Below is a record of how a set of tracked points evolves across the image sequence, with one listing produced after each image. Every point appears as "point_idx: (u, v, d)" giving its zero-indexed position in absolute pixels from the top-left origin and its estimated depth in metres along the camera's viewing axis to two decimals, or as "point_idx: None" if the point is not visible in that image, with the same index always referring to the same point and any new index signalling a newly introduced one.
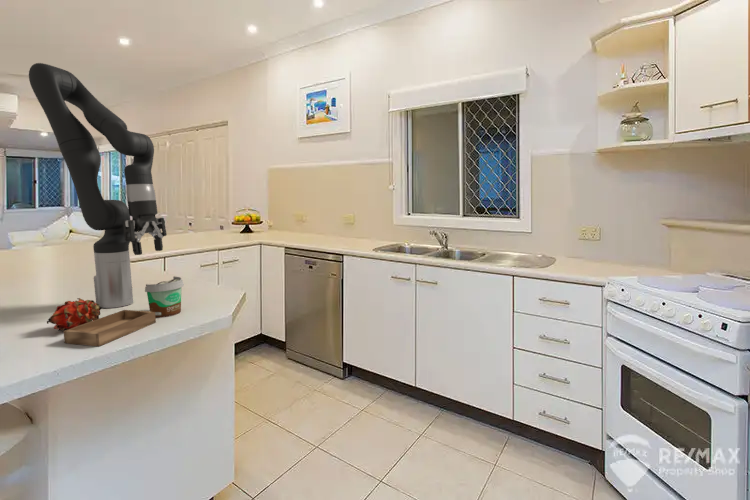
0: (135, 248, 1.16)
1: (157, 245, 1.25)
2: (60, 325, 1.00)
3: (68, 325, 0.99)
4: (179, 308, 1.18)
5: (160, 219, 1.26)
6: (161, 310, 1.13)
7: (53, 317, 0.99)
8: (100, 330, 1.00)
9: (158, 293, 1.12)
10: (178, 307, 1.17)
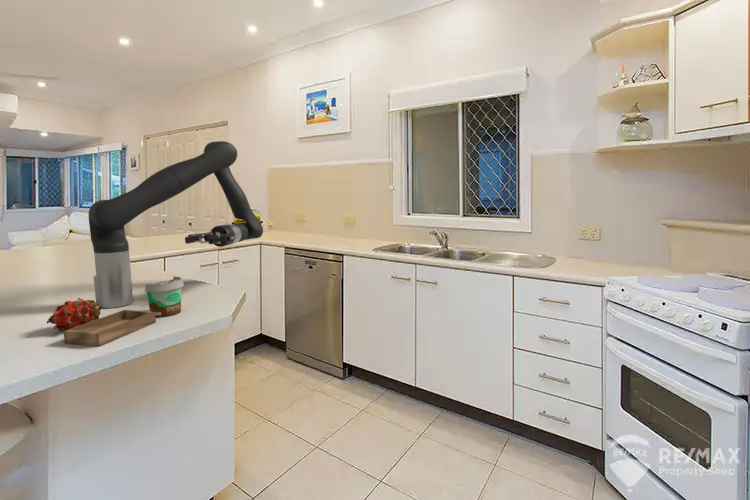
0: (216, 241, 1.29)
1: (190, 239, 1.30)
2: (60, 325, 1.00)
3: (68, 325, 0.99)
4: (179, 308, 1.18)
5: None
6: (161, 310, 1.13)
7: (53, 317, 0.99)
8: (100, 330, 1.00)
9: (158, 293, 1.12)
10: (178, 307, 1.17)
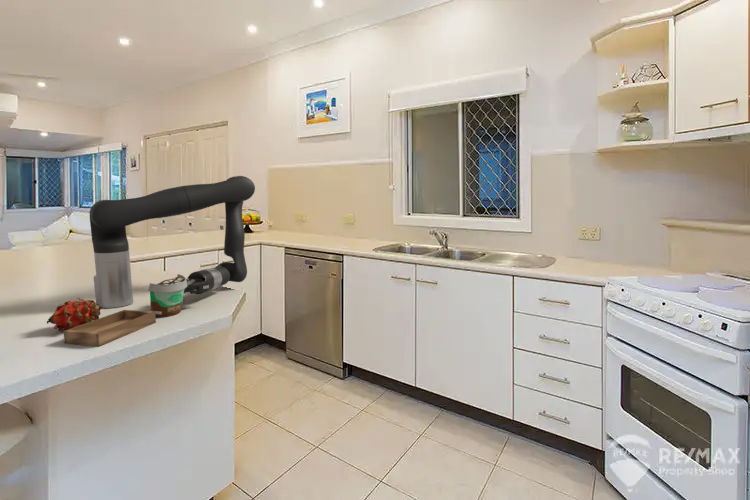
0: None
1: None
2: (60, 325, 1.00)
3: (68, 325, 0.99)
4: (180, 308, 1.18)
5: None
6: (162, 309, 1.13)
7: (53, 317, 0.99)
8: (100, 330, 1.00)
9: (161, 293, 1.11)
10: (179, 307, 1.17)
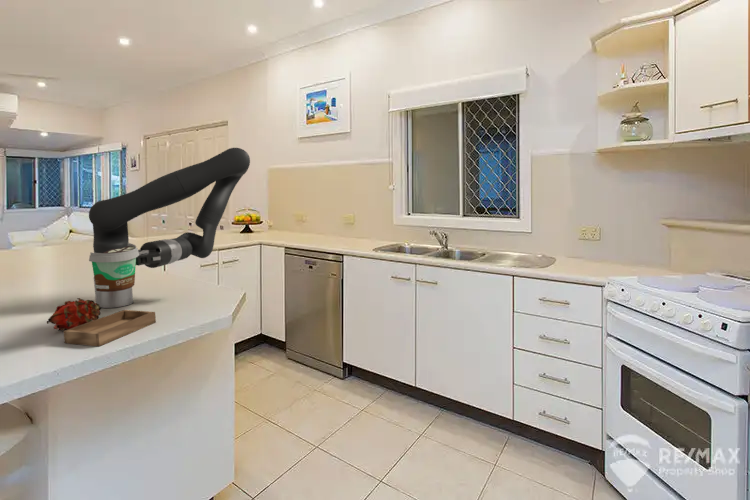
0: None
1: None
2: (60, 325, 1.00)
3: (68, 325, 0.99)
4: (132, 281, 1.01)
5: None
6: (109, 283, 0.96)
7: (53, 317, 0.99)
8: (100, 330, 1.00)
9: (105, 264, 0.94)
10: (131, 280, 1.00)
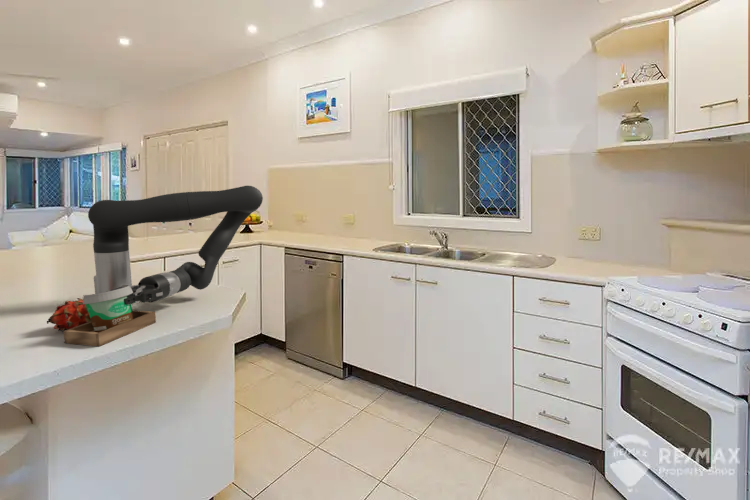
0: (130, 301, 1.02)
1: None
2: (60, 325, 1.00)
3: (68, 325, 0.99)
4: (129, 319, 1.02)
5: None
6: (106, 323, 0.97)
7: (53, 317, 0.99)
8: None
9: (99, 304, 0.96)
10: (127, 318, 1.01)
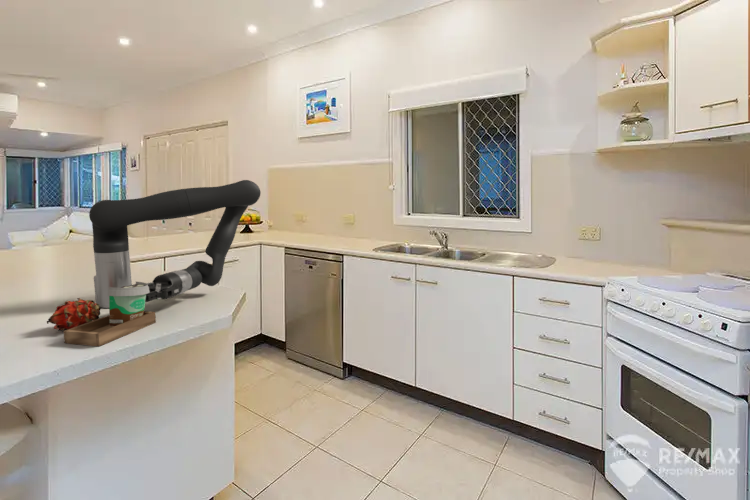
0: (153, 297, 1.08)
1: None
2: (60, 325, 1.00)
3: (68, 325, 0.99)
4: None
5: None
6: (124, 317, 1.01)
7: (53, 317, 0.99)
8: (100, 330, 1.00)
9: (123, 298, 1.00)
10: (141, 315, 1.05)
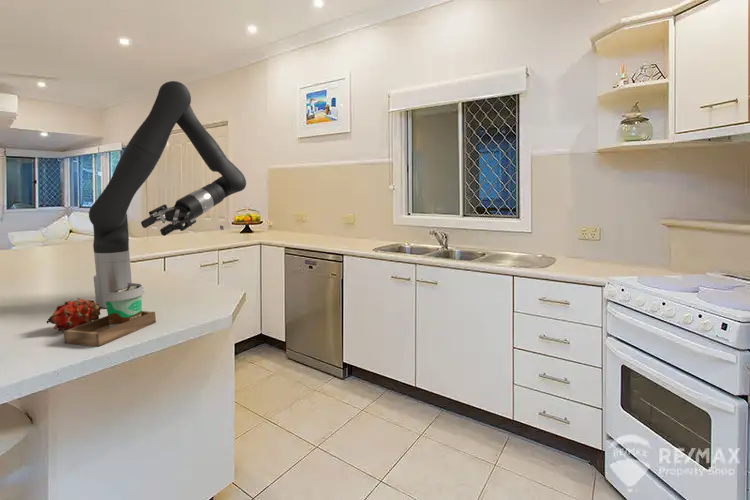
0: (169, 231, 1.17)
1: (148, 222, 1.20)
2: (60, 325, 1.00)
3: (68, 325, 0.99)
4: None
5: None
6: (123, 321, 1.01)
7: (53, 317, 0.99)
8: (100, 330, 1.00)
9: (120, 302, 0.99)
10: None
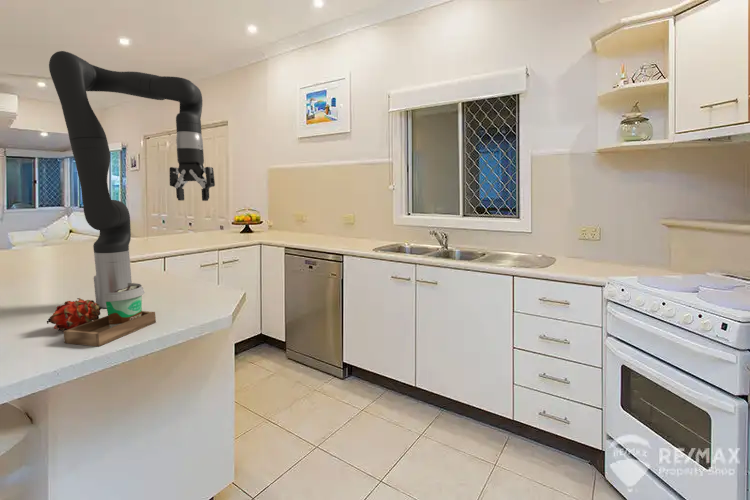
0: (208, 194, 1.24)
1: (181, 194, 1.26)
2: (60, 325, 1.00)
3: (68, 325, 0.99)
4: None
5: None
6: (123, 321, 1.01)
7: (53, 317, 0.99)
8: (100, 330, 1.00)
9: (120, 302, 0.99)
10: None
